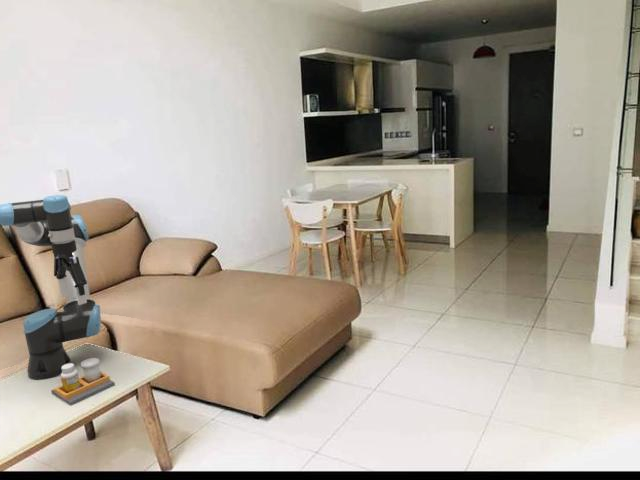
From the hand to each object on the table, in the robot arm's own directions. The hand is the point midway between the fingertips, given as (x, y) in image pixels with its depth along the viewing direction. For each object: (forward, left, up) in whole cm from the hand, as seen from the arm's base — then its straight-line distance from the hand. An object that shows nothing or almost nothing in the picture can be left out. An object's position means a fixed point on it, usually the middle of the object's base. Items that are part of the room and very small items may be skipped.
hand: (73, 299), depth 183 cm
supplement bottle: (+4, -8, -31) cm, 32 cm away
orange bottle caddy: (+3, -4, -32) cm, 32 cm away
